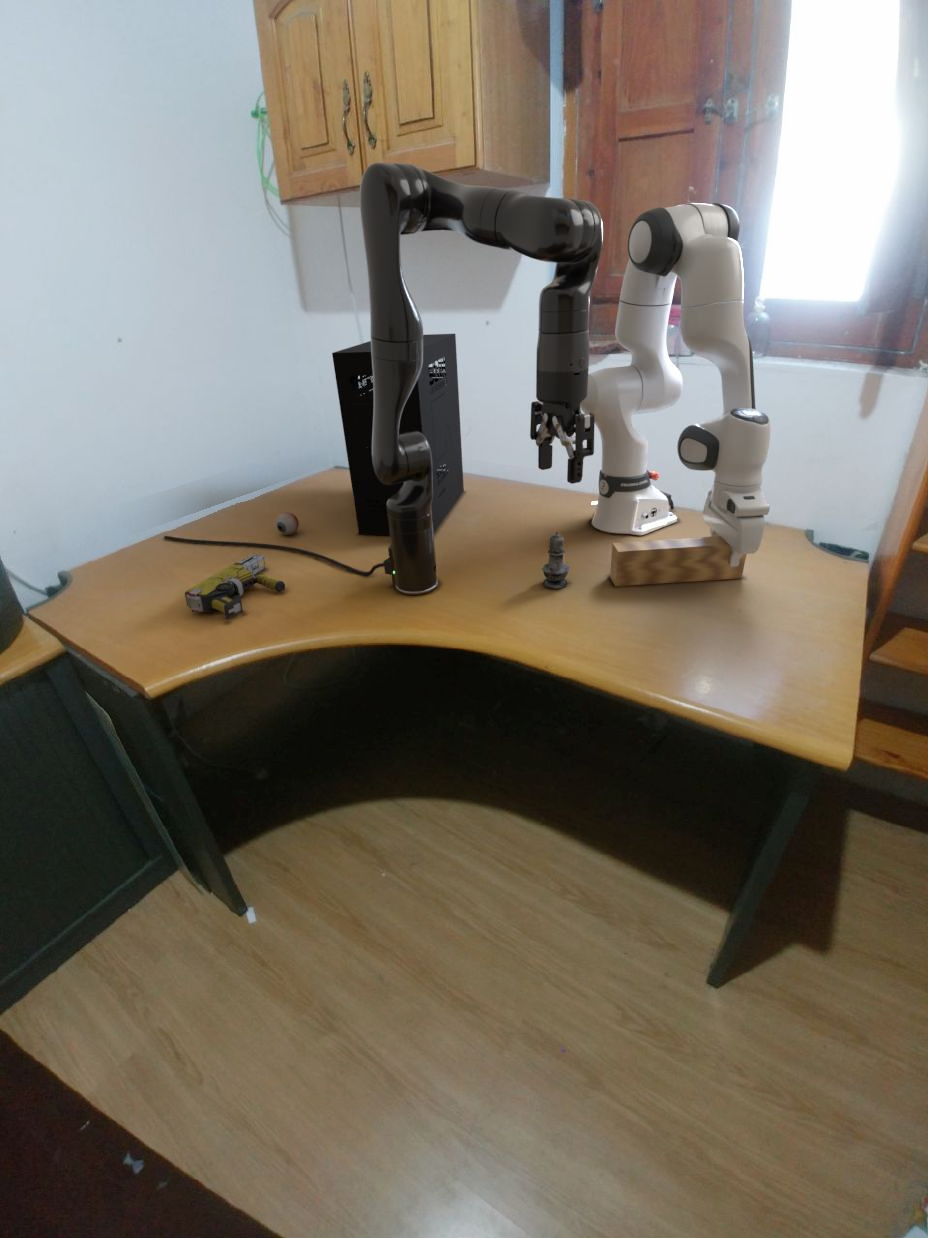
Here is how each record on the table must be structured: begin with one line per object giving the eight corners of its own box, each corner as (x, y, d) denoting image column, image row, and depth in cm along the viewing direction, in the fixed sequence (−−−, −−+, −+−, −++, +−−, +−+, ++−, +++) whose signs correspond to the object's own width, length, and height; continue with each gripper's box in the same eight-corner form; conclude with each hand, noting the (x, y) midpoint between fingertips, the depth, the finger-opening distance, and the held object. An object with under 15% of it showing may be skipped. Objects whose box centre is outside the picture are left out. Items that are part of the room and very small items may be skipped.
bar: (732, 568, 133) (738, 534, 129) (741, 578, 129) (748, 543, 125) (609, 576, 133) (612, 542, 129) (615, 586, 129) (618, 551, 125)
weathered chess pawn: (568, 589, 128) (570, 537, 122) (540, 588, 130) (541, 536, 124) (569, 577, 133) (571, 526, 127) (542, 576, 134) (543, 525, 128)
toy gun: (306, 561, 141) (251, 550, 144) (240, 606, 120) (179, 591, 124) (307, 580, 143) (253, 568, 147) (243, 626, 123) (183, 611, 127)
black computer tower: (431, 537, 158) (415, 350, 135) (358, 534, 162) (332, 352, 140) (463, 491, 189) (455, 333, 167) (402, 489, 194) (386, 335, 171)
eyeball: (273, 537, 164) (268, 516, 161) (287, 528, 169) (282, 508, 166) (291, 539, 161) (286, 518, 158) (305, 530, 166) (301, 510, 163)
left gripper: (515, 363, 92) (516, 468, 100) (567, 373, 80) (563, 491, 89) (557, 358, 94) (555, 461, 102) (613, 367, 83) (606, 482, 91)
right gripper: (700, 479, 131) (691, 538, 138) (741, 511, 113) (728, 577, 120) (729, 477, 131) (718, 536, 138) (774, 509, 113) (760, 575, 120)
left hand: (559, 475), depth 96 cm, fingers open, 8 cm apart
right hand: (723, 556), depth 129 cm, fingers open, 8 cm apart
